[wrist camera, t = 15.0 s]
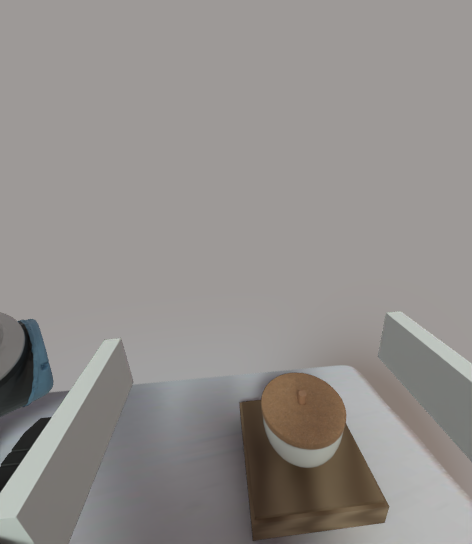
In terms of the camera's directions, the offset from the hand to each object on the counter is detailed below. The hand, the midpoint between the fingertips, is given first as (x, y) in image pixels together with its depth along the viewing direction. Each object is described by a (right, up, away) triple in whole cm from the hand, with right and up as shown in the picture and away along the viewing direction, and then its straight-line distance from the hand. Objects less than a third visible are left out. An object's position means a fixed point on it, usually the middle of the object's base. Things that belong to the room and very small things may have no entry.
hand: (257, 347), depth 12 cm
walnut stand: (+8, -24, +24) cm, 35 cm away
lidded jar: (+8, -21, +23) cm, 32 cm away
